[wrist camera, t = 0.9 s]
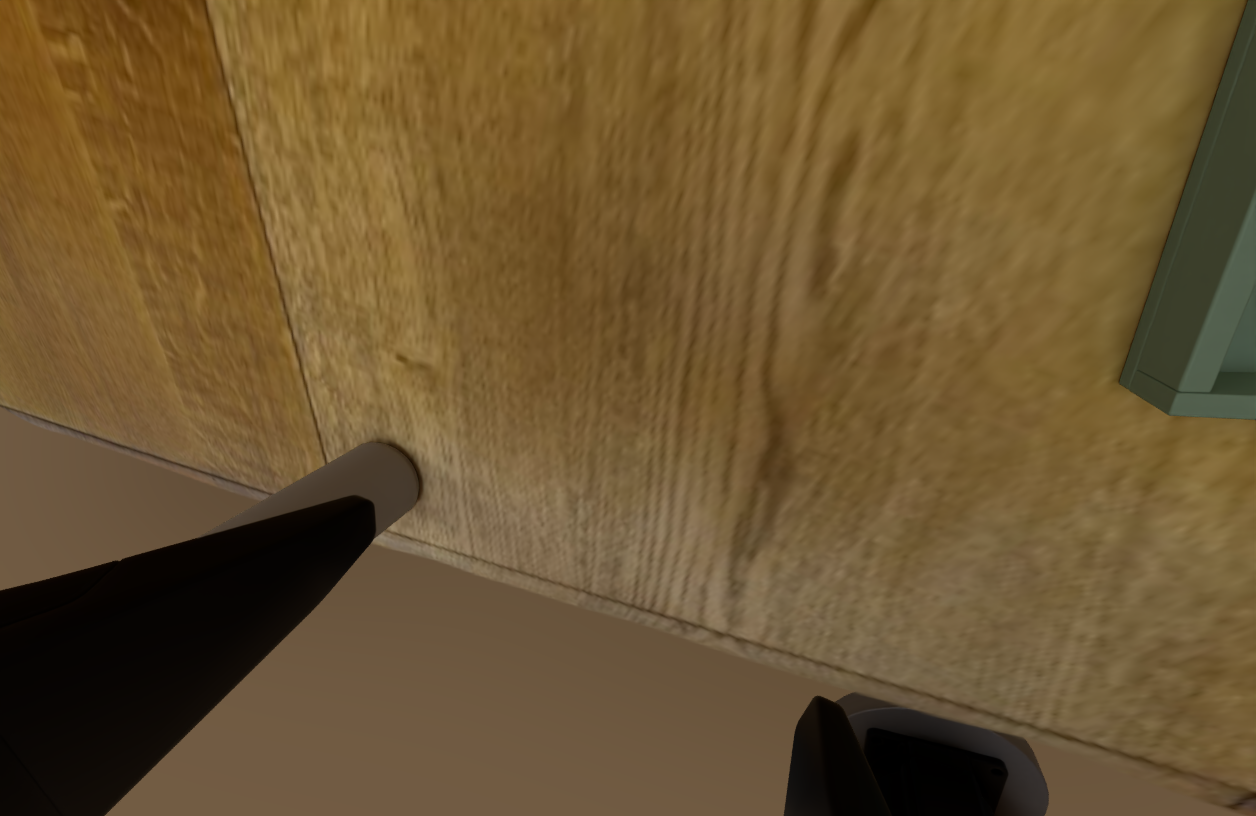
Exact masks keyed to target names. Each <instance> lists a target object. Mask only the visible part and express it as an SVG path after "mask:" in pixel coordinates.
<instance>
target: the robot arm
mask: <svg viewBox="0 0 1256 816" xmlns="http://www.w3.org/2000/svg"><path fill="white" fill-rule="evenodd" d="M375 535H376V516H375V505H374V503H373V502H372V501H371V500H368V499H366V498H364V497H361V496H359V495H350V496H346V497H343V498H339V499H336V500H332V501H328V502H325V503H321V504H318V505H314V506H310V507H307V508H303V509H300V510H296V511H292V512H289V513H285V514H282V515H278V516H274V517H271V518H267V519H264V520H260V521H257V522H253V523H249V524H246V525H242V526H239V527H235V528H231V529H228V530H224V531H221V532H217V533H213V534H210V535H206V536H203V537H199V538H196V539H192V540H188V541H185V542H182V543H178V544H174V545H170V546H167V547H163V548H160V549H156V550H152V551H149V552H145V553H142V554H138V555H134V556H131V557H127V558H124V559H122V560H121V561H112V562H109V563H106V564H102V565H98V566H95V567H91V568H88V569H84V570H80V571H76V572H72V573H69V574H65V575H61V576H57V577H53V578H50V579H46V580H42V581H39V582H34V583H30V584H25V585H21V586H17V587H13V588H9V589H5V590H1V591H0V816H105V815H106V814H107V813H108V812H109V811H110V810H111V809H112V807H114V806H115V805H116V804H117V803H118V802H119V801H120V800H121V799H122V798H123V797H124V796H125V795H126V794H127V793H128V792H129V791H130V790H131V789H132V788H133V787H134V786H135V785H136V784H137V783H138V782H139V781H140V780H141V779H142V778H143V777H144V776H145V775H146V774H147V773H148V772H149V771H150V770H151V769H152V768H153V767H154V766H155V765H156V764H157V763H158V762H159V761H160V760H161V759H162V758H163V757H164V756H165V755H167V754H168V753H169V752H170V751H171V749H173V747H175V746H176V745H177V744H178V743H179V742H180V741H181V740H182V739H183V738H184V737H185V736H186V735H187V734H188V733H189V732H190V731H191V730H192V729H193V728H194V727H195V726H196V725H197V724H198V723H199V722H200V721H201V720H202V719H203V718H204V717H205V716H206V715H207V714H208V713H209V712H210V711H211V710H212V709H213V708H214V707H215V706H216V705H217V704H218V703H219V702H220V701H221V700H222V699H223V698H224V697H225V696H226V695H227V694H228V693H229V692H230V691H231V690H232V689H234V688H235V686H237V684H238V683H239V682H240V681H242V680H243V679H244V678H245V677H246V676H247V675H248V674H249V673H250V672H251V671H252V670H253V669H254V668H255V666H257V665H258V664H259V663H260V662H261V661H262V660H263V659H264V658H265V657H266V656H267V655H268V654H269V653H270V652H271V651H272V650H273V649H274V648H275V647H276V646H277V645H278V644H279V643H280V642H281V641H282V640H283V639H284V638H285V637H286V636H287V635H288V634H289V633H290V632H291V631H292V630H293V629H294V628H295V627H296V626H297V625H298V624H299V623H300V622H301V621H302V620H303V619H305V617H307V615H309V614H310V613H311V611H312V610H313V609H314V608H315V607H316V606H317V605H318V604H319V603H320V602H321V601H322V600H323V599H324V598H325V596H326V595H327V594H328V593H329V592H330V591H331V590H332V588H333V587H334V586H335V585H336V584H337V583H338V581H339V580H340V579H341V578H342V576H343V575H344V574H345V573H346V572H347V571H348V569H349V568H350V567H351V566H352V565H353V564H354V563H355V561H356V560H357V559H358V558H359V556H360V555H361V554H362V553H363V552H364V551H365V549H366V548H367V547H368V546H369V545H370V544H371V542H372V541H373V539H374V537H375ZM1007 778H1008V770H1007V767H1006V764H1005V763H1004V762H1003V761H1002V760H1001V759H998V758H995V757H991V756H987V755H983V754H979V753H975V752H971V751H967V750H963V749H959V748H955V747H951V746H947V745H943V744H939V743H935V742H931V741H927V740H923V739H919V738H915V737H911V736H907V735H903V734H899V733H895V732H891V731H887V730H883V729H879V728H869V729H867V731H866V736H865V742H864V748H863V751H862V748H861V746H860V744H859V742H858V740H857V737H856V735H855V733H854V731H853V729H852V726H851V724H850V722H849V720H848V718H847V715H846V713H845V711H844V709H843V708H842V707H841V706H840V705H839V704H837V703H835V702H833V701H831V700H828V699H826V698H824V697H821V696H815V697H814V698H813V699H812V701H811V702H810V704H809V706H808V707H807V709H806V710H805V712H804V714H803V715H802V716H801V718H800V720H799V721H798V724H797V726H796V730H795V734H794V741H793V749H792V757H791V764H790V772H789V780H788V788H787V795H786V803H785V810H784V816H994V813H995V810H996V808H997V805H998V802H999V799H1000V797H1001V794H1002V791H1003V789H1004V786H1005V783H1006V780H1007Z"/></svg>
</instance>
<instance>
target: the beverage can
mask: <svg viewBox="0 0 1256 816" xmlns="http://www.w3.org/2000/svg"><path fill="white" fill-rule="evenodd" d="M418 492H419V481H418V477H417V473H416V471H415V469H414V467H413V465H412V464H411V462H410V461H409V460H408V458H407V457H406V456H405V455H403V454H402V453H401V452H400V451H398V450H397V449H395V448H394V447H391V446H389V445H386V444H382V443H373V442H369V443H365V444H361V445H360V446H358V447H356V448H354V449H353V450H351V451H349V452H347V453H346V454H344V455H342V456H340V457H339V458H337V459H335V460H333V461H331V462H330V463H328V464H326V465H324V466H323V467H321V468H319V469H317V470H316V471H314V472H312V473H310V474H309V475H307V476H305V477H303V478H302V479H300V480H298V481H296V482H295V483H293V484H291V485H289V486H288V487H286V488H284V489H282V490H281V491H279V492H277V493H275V494H273V495H272V496H270V497H268V498H266V499H265V500H263V501H261V502H259V503H258V504H256V505H254V506H252V507H251V508H249V509H247V510H245V511H244V512H242V513H240V514H239V515H237V516H235V517H233V518H231V519H230V520H228V521H226V522H224V523H223V524H221V525H219V526H217V527H215V528H214V529H212V530H210V531H208V532H207V533H205V534H203V535H201V536H200V537H203V536H206V535H210V534H213V533H217V532H221V531H224V530H228V529H231V528H235V527H239V526H242V525H246V524H249V523H253V522H257V521H260V520H264V519H267V518H271V517H274V516H278V515H282V514H285V513H289V512H292V511H296V510H300V509H303V508H307V507H310V506H314V505H318V504H321V503H325V502H328V501H332V500H336V499H339V498H343V497H346V496H350V495H359V496H361V497H364V498H366V499H368V500H371V501H372V502H373V503H374V505H375V516H376V535H375V537H374V538H376V537H377V536H378V535H379V534H381V533H382V532H383V531H384V530H386V529H387V528H388V527H389V526H391V525H392V524H393V523H394V522H396V521H397V520H398V519H399V518H401V517H402V516H403V515H404V514H405V513H407V512H408V511H409V510H410V509H412V508H413V506H414V505H415V503H416V501H417V497H418ZM198 538H199V537H198Z"/></svg>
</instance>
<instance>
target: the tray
mask: <svg viewBox="0 0 1256 816" xmlns="http://www.w3.org/2000/svg"><path fill="white" fill-rule="evenodd" d="M1119 383H1120V384H1121V385H1122V386H1124V387H1125V388H1127V389H1129V390H1130V391H1131V392H1133V393H1134V394H1136V395H1137V396H1139V397H1141V398H1142V399H1144V400H1145V401H1147V402H1149V403H1150V404H1152V405H1153V406H1155V407H1156V408H1158V409H1160V410H1161V411H1163V412H1164V413H1166V414H1168V415H1170V416H1191V417H1211V418H1232V419H1252V420H1256V0H1248V3H1247V6H1246V8H1245V11H1244V14H1243V17H1242V20H1241V23H1240V26H1239V29H1238V32H1237V35H1236V38H1235V41H1234V44H1233V47H1232V50H1231V53H1230V56H1229V59H1228V62H1227V65H1226V68H1225V71H1224V74H1223V77H1222V79H1221V82H1220V85H1219V88H1218V91H1217V94H1216V97H1215V100H1214V103H1213V106H1212V109H1211V112H1210V115H1209V118H1208V121H1207V124H1206V127H1205V130H1204V133H1203V136H1202V139H1201V142H1200V145H1199V148H1198V150H1197V153H1196V156H1195V159H1194V162H1193V165H1192V168H1191V171H1190V174H1189V177H1188V180H1187V183H1186V186H1185V189H1184V192H1183V195H1182V198H1181V201H1180V204H1179V207H1178V210H1177V213H1176V216H1175V219H1174V221H1173V224H1172V227H1171V230H1170V233H1169V236H1168V239H1167V242H1166V245H1165V248H1164V251H1163V254H1162V257H1161V260H1160V263H1159V266H1158V269H1157V272H1156V275H1155V278H1154V281H1153V284H1152V287H1151V290H1150V293H1149V295H1148V298H1147V301H1146V304H1145V307H1144V310H1143V313H1142V316H1141V319H1140V322H1139V325H1138V328H1137V331H1136V334H1135V337H1134V340H1133V343H1132V346H1131V349H1130V352H1129V355H1128V358H1127V361H1126V364H1125V366H1124V369H1123V372H1122V375H1121V378H1120V381H1119Z"/></svg>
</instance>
